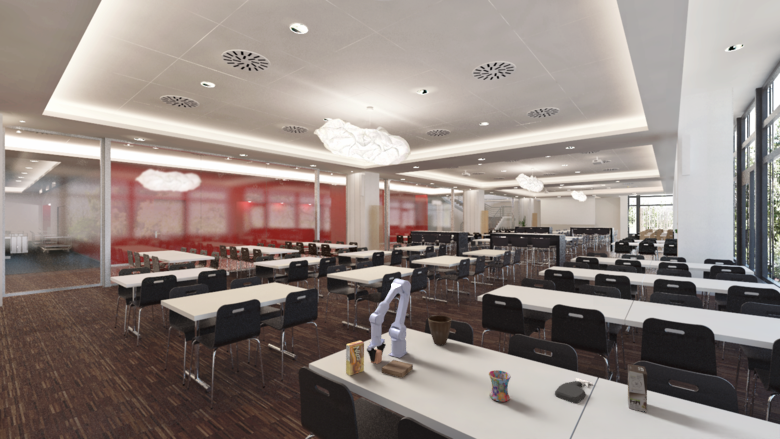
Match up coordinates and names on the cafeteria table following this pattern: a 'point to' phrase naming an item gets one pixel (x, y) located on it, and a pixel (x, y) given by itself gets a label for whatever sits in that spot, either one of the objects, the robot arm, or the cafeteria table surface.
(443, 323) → the plant pot
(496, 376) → the mug
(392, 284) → the robot arm
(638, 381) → the coffee box
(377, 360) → the terracotta block
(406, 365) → the walnut base
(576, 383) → the spray bottle
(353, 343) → the candy box
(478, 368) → the cafeteria table surface
